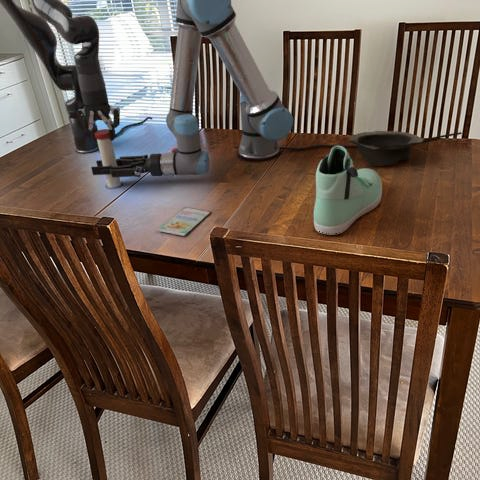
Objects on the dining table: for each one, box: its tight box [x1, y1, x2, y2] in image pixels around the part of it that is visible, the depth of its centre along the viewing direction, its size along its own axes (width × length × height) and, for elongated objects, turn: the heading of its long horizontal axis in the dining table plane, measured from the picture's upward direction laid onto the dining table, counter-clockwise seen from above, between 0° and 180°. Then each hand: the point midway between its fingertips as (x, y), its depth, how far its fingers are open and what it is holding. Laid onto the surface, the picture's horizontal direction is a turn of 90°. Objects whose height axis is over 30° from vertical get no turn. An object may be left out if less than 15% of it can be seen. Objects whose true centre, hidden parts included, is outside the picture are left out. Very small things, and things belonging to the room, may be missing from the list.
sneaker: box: [313, 146, 383, 236], centre depth 133 cm, size 14×35×20 cm, turn 152°
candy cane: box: [170, 146, 179, 153], centre depth 183 cm, size 6×15×2 cm, turn 145°
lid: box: [94, 128, 110, 139], centre depth 156 cm, size 5×5×2 cm
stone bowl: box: [348, 130, 426, 167], centre depth 167 cm, size 25×25×9 cm
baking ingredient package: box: [157, 207, 211, 237], centre depth 139 cm, size 9×1×15 cm
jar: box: [97, 137, 122, 189], centre depth 160 cm, size 5×5×18 cm
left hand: (104, 140), depth 157 cm, fingers closed on lid, 5 cm apart
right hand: (95, 167), depth 162 cm, fingers closed on jar, 5 cm apart
